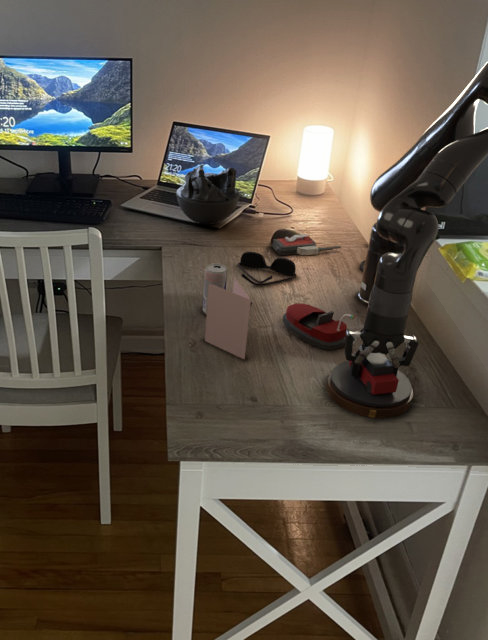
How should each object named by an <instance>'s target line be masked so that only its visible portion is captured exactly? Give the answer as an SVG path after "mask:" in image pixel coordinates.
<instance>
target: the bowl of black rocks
mask: <svg viewBox="0 0 488 640" xmlns="http://www.w3.org/2000/svg"><path fill="white" fill-rule="evenodd" d="M204 166H205V164H200V165H199V166H196V167H194V168H193V169H192V170H191V171H188V172H187V173H186V174H185V175H184V177H183V178H184V181H185V182H184V183H183V185H182V186H180V187H179V188H177V190H176V200H177V203H178V207H179V208H180V209H181V211H182V213H183V214H184V215H185V216H186V217H187V218H188V219H190V220H191V221H192V222H195V223H197V222H199V223H198V224H201V223H205V224H204V225H213V224H212V223H215V224H218V223H221V222H223V221H225V220H226V219H227V218H228V217H230V216H231V215H232V213H233V212H234V211H235V209H236V208H237V205H238V204H239V200H240V192H239V191H238V190H237V188H236V183H237V182H236V181H237V170H236V169H235V168H234V167H228V168H226V169H225V170H223V169H222V171H220V172H219V173H214V172H205V169H204ZM201 225H202V224H201Z"/></svg>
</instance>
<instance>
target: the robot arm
mask: <svg viewBox="0 0 488 640" xmlns="http://www.w3.org/2000/svg"><path fill="white" fill-rule="evenodd" d="M480 101H482V102H483V103H484V104H485V105H487V106H488V61H487V62H486V63H485V64H484V66H483V67H481V69H480V70H479V71H478V72H477V74H476V75H475V76H474V77H473V79H472V80H471V81H470V82H469V83H468V85H467V86H466V87H465V88H464V90H463V91H462V92H461V93H460V94H459V96H457V98H456V99H455V100H454V102H453V103H452V104H451V105H450V106H449V107H448V108H447V109H446V110H445V111H444V112H443V113H442V114H441V115H440V116H438V118H437V119H436V120H435V121H434V122H433V123H432V124H431V125H430V126H429V127H428V128H427V129H426V130H425V131H424V133H422V135H421V136H420V137H419V138H418V139H417V140H416V142H415V143H414V144H413V145H412V146H411V147H410V148H409V149H408V150H407V151H406V152H405V153H404V154H403V155H402V156H401V157H400V158H399V159H398V160H397V161H396V162H395V163H393V164H392V165H391V166H389V167H388V168H387V169H386V170H385V171H383V172H382V173H381V174H380V175H379V176H378V177H377V178H376V180H375V181H374V182H373V184H372V186H371V189H370V194H369V201H370V205H371V206H372V208H373V209H374V210H375V211H377V212H379V214H378V217H377V219H376V222H375V223H373V224H372V227H371V230H370V236H369V241H368V245H367V251H366V256H365V260H362V261H361V262H360V264H359V268H360V269H361V271H362V276H361V282H360V287H359V290H358V291H359V292H358V294H357V298H358V300H359V301H360V302H362V303H363V304H366V305H367V309H366V313H365V318H364V322H363V327H362V328H361V330H359V331H353V330H352V329H350V328H347V330H346V335H345V345H344V356H345V361H352V366H351V375H352V376H353V377H354V379H358V376H359V371H360V366H361V364H360V363H361V362H362V360H363V359H364V358H366V357H368V355H369V354H370V353H381V354H384V355H389V357H390V360H391V361H390V362H391V363H392V364H393V365H394V368H393V372H392V373H393V374H394V375H395V376H397V372H398V370H399V369H400V367H402V366H404V367H409V366H410V365H411V363H412V361H413V358H414V356H415V354H416V351H417V349H418V346H419V341H418V338H417V336H416V335H415V334H411V335H410V336H409V335H405V334H404V333H405V330H406V325H407V322H408V316H409V312H410V309H411V304H412V301H413V291H414V286H415V282H416V277H417V274H418V271H419V268H420V266H421V265H422V264H423V261H424V260H425V257H426V255H427V253H428V251H429V250H430V249H431V247H432V246H433V244H434V242H435V240H436V239H437V236H438V233H439V222H438V219H437V217H436V215H435V214H434V213H432V212H430V211H427V210H425V208H443V207H446V206H447V205H449V203H451V201H452V200H453V199H454V197H455V196H456V195H457V193H458V192H459V191H460V189H461V188H462V187H463V185H464V184H465V183H466V182H467V180H468V179H469V178H470V176H471V175H472V174H473V172H475V170H476V169H477V168H478V167H479V165H480V164H481V163H482V162H483V161H484V160H485V159H486V158H487V157H488V127H487V126H486V128H484V129H481V130H480V131H477V132H475V127H476V126H475V125H476V112H477V109H478V104H479V102H480ZM358 339H360V340H361V342H362V343H360V345H359V346H358V349H357V350H355V353H354V352H353V349H354V344H355V343H356V342H357V340H358ZM403 343H404V346H405V348H404V351H403V353H402V355H401V356H398V355H397V350H396V349H397V348H398V347H399V346H401V345H402V344H403Z"/></svg>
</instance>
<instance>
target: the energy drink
mask: <svg viewBox="0 0 488 640" xmlns="http://www.w3.org/2000/svg"><path fill="white" fill-rule="evenodd" d="M227 281H228V269H227V266H226V265H224V264H221V263H209V264H208V265H206V268H205V270H204V281H203V285H204V286H203V295H202V297H203V298H202V312H203V313H204V314H205V315H207V303H208V288H209V283H210V284H213V285H215V286H218V287H220V288H223V289H225V290H227Z"/></svg>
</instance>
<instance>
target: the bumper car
mask: <svg viewBox="0 0 488 640" xmlns="http://www.w3.org/2000/svg"><path fill="white" fill-rule="evenodd" d="M334 315H335V312H334V311H333V310H331V311H327V312H326V311H325V310H323V309H321V308H318V307H316V306H314V305H311V304H307V303H299V302H296V303H293V304H290V305H288V306H287V308H286V311H285V313H284V314H283V315H282V324H283V325H284V327H285V328H287V329H288V330H289V332H290V333H292V334H294V335H295V336H296V337H298V338H299V339H301V340H302V341H304V342H306V343H307V344H309V345H312V346H314V347H316V348H319V349H321V350H325V351H330V350H336V349H339V348H342V347H345V335H346V330H348V325H347V323H346V322H344V321H343V320H344V318H345V317H350V319H351V320H354V319H355V318H356V316H355V314H350V313H345V314H343V315H341V318H340V319H338V320H335V319H333V318H334Z"/></svg>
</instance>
